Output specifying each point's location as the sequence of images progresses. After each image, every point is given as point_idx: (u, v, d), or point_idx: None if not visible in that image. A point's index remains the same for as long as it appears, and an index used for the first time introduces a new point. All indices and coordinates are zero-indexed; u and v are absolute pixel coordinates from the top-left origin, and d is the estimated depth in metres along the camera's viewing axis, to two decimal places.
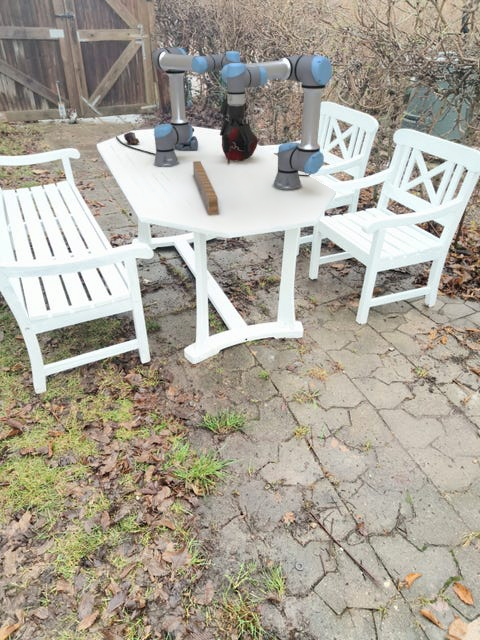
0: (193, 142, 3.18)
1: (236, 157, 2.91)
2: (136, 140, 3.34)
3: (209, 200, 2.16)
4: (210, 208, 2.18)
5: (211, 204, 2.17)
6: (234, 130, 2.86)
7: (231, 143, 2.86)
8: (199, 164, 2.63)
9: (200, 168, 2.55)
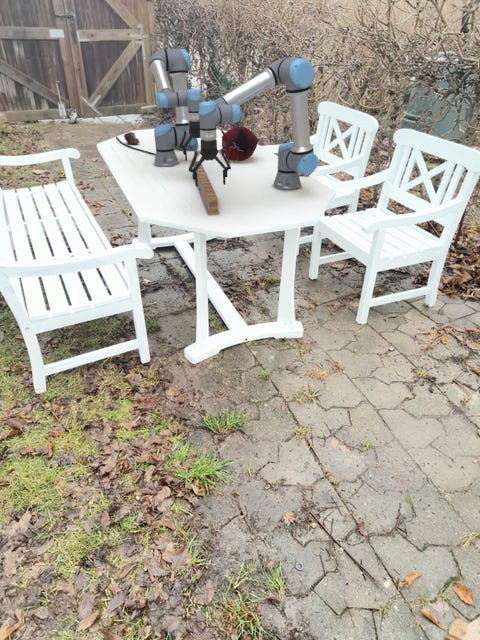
0: None
1: (236, 157, 2.91)
2: (136, 140, 3.34)
3: (209, 200, 2.16)
4: (210, 208, 2.18)
5: (211, 204, 2.17)
6: (234, 130, 2.86)
7: (231, 143, 2.86)
8: None
9: (200, 168, 2.55)
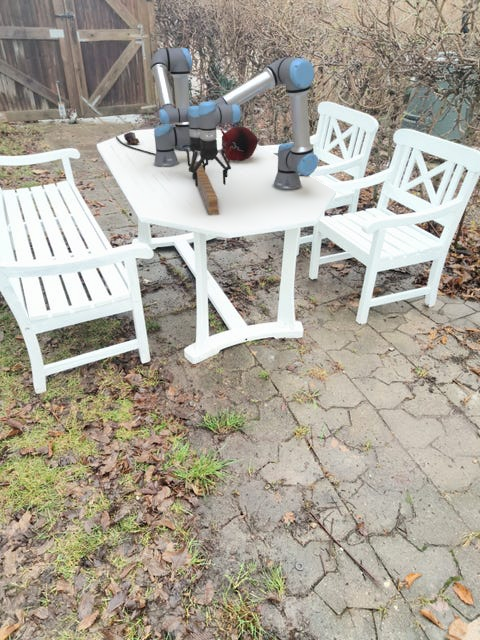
0: None
1: (236, 157, 2.91)
2: (136, 140, 3.34)
3: (209, 200, 2.16)
4: (210, 208, 2.18)
5: (211, 204, 2.17)
6: (234, 130, 2.86)
7: (231, 143, 2.86)
8: None
9: (200, 168, 2.55)
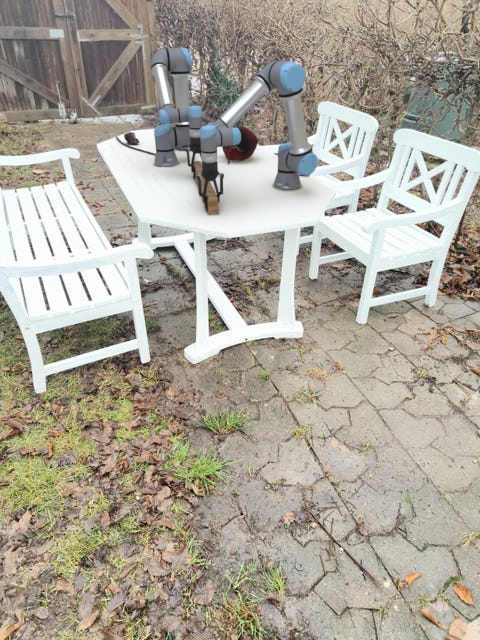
0: None
1: (236, 157, 2.91)
2: (136, 140, 3.34)
3: (209, 200, 2.16)
4: (210, 208, 2.18)
5: (211, 204, 2.17)
6: None
7: None
8: (199, 164, 2.63)
9: (200, 168, 2.55)
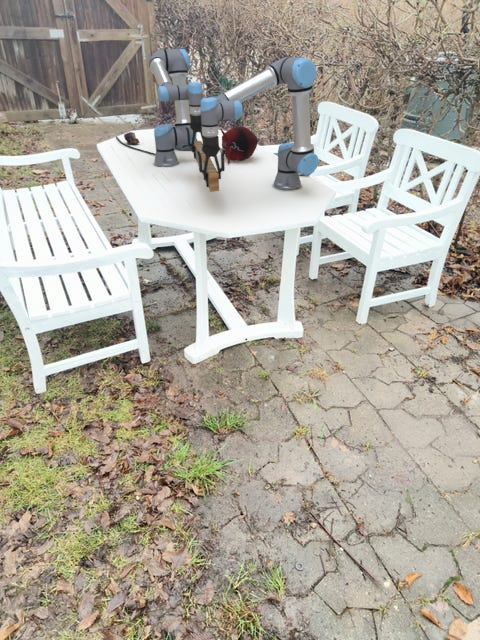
0: None
1: (236, 157, 2.91)
2: (136, 140, 3.34)
3: (210, 176, 2.09)
4: (211, 185, 2.12)
5: (212, 181, 2.11)
6: (234, 130, 2.86)
7: (231, 143, 2.86)
8: (200, 143, 2.56)
9: (201, 147, 2.48)
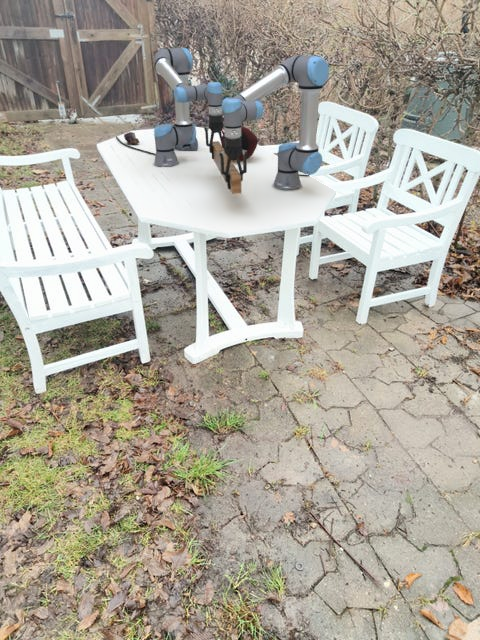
0: (193, 142, 3.18)
1: None
2: (136, 140, 3.34)
3: (232, 179, 2.07)
4: (233, 187, 2.09)
5: (234, 183, 2.08)
6: None
7: None
8: (218, 144, 2.53)
9: (219, 148, 2.46)
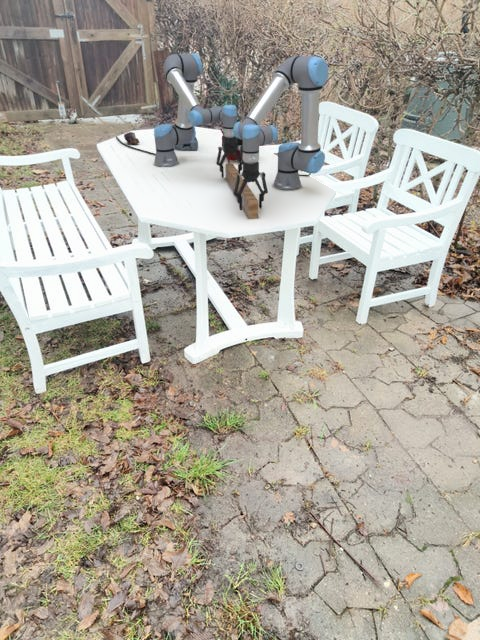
0: (193, 142, 3.18)
1: None
2: (136, 140, 3.34)
3: (250, 204, 2.12)
4: (250, 212, 2.14)
5: (251, 208, 2.13)
6: None
7: None
8: (232, 166, 2.58)
9: (234, 171, 2.51)
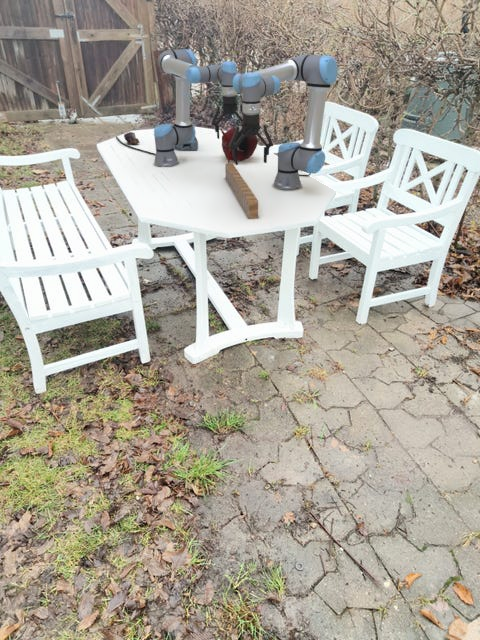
0: (193, 142, 3.18)
1: None
2: (136, 140, 3.34)
3: (250, 204, 2.12)
4: (250, 212, 2.14)
5: (251, 208, 2.13)
6: (234, 130, 2.86)
7: None
8: (232, 166, 2.58)
9: (234, 171, 2.51)
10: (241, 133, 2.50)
